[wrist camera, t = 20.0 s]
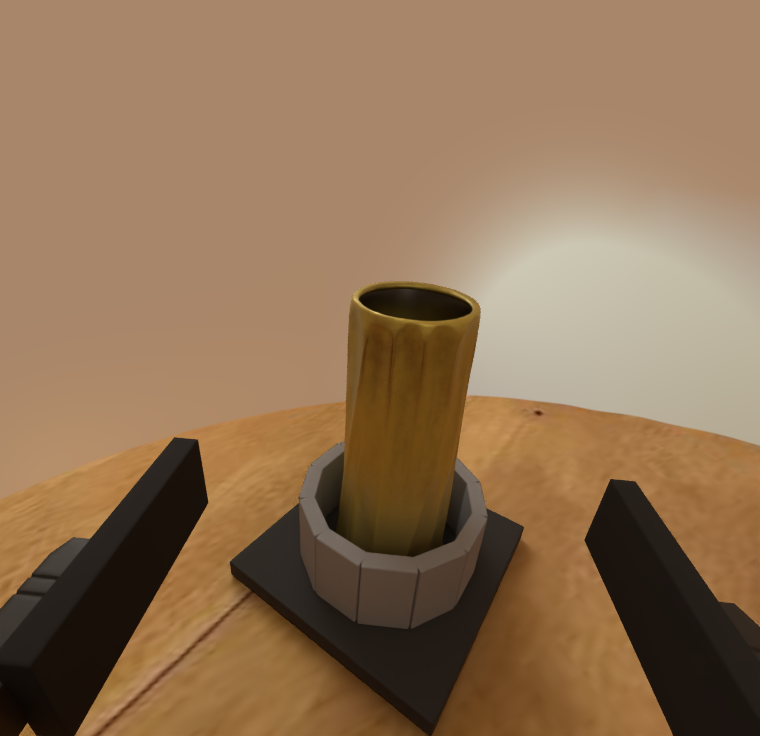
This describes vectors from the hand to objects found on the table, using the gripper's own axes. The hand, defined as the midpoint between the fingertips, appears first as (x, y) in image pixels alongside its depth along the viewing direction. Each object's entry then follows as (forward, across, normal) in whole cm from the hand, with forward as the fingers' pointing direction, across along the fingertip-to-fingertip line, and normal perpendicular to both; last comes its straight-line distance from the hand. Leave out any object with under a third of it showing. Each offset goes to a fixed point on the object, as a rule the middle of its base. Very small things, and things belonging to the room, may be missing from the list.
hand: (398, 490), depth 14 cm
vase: (+6, 0, -10) cm, 12 cm away
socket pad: (+6, 0, -11) cm, 12 cm away
